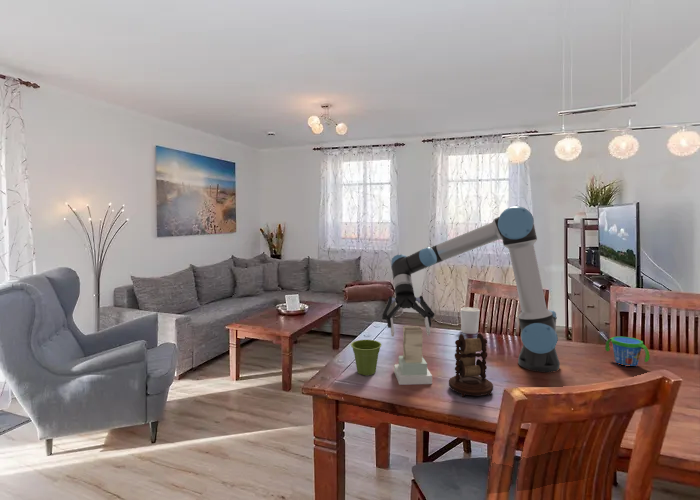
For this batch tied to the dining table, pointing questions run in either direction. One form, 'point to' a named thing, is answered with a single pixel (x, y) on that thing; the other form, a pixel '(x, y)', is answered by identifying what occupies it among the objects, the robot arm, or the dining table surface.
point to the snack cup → (627, 350)
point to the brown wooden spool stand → (471, 367)
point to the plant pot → (366, 355)
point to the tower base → (412, 377)
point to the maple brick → (412, 344)
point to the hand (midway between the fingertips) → (411, 334)
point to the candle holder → (469, 320)
